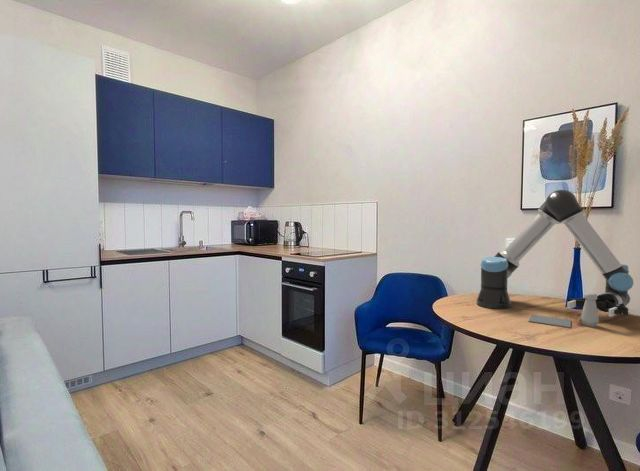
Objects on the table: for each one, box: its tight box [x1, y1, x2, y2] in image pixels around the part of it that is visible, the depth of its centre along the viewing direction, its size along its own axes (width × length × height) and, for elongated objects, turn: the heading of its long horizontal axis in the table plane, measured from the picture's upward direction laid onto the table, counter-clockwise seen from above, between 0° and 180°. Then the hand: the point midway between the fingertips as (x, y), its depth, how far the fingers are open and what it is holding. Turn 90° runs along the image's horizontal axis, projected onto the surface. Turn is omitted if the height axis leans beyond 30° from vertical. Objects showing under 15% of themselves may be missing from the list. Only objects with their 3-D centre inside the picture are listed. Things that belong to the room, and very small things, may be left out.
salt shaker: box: [580, 292, 600, 328], centre depth 137 cm, size 6×6×13 cm
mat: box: [528, 314, 572, 329], centre depth 142 cm, size 14×12×1 cm
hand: (588, 309), depth 135 cm, fingers open, 13 cm apart
